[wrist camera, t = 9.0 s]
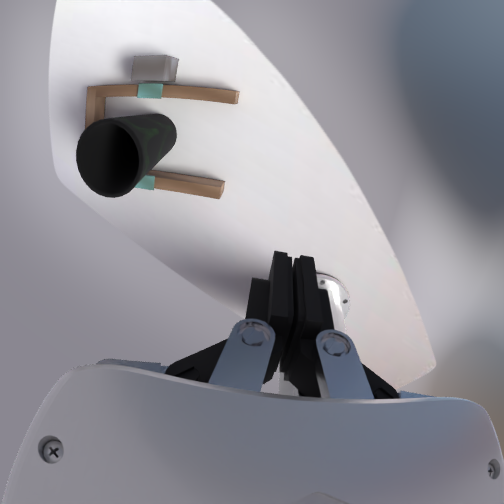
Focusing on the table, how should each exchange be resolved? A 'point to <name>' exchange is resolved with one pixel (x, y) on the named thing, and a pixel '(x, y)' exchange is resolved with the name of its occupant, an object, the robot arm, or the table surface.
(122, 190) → the cup
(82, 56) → the table surface
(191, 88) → the beam slot
